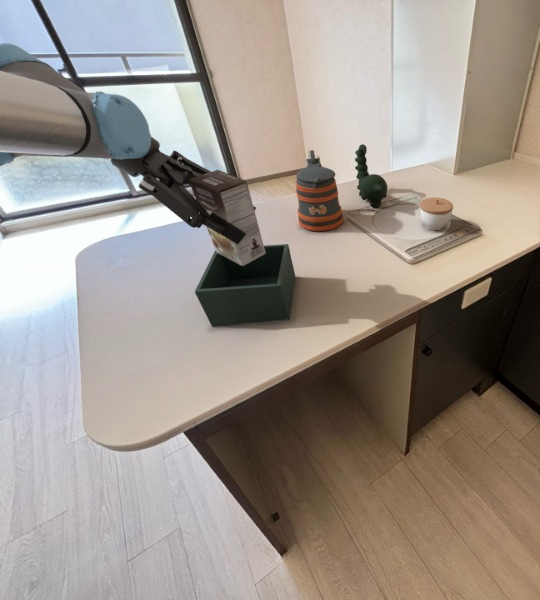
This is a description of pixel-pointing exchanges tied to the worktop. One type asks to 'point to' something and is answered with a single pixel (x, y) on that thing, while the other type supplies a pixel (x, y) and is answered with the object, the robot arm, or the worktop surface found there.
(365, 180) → the toy figurine
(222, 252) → the coffee box
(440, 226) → the trinket box
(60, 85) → the robot arm
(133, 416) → the worktop surface
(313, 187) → the beer stein
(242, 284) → the waste bin
